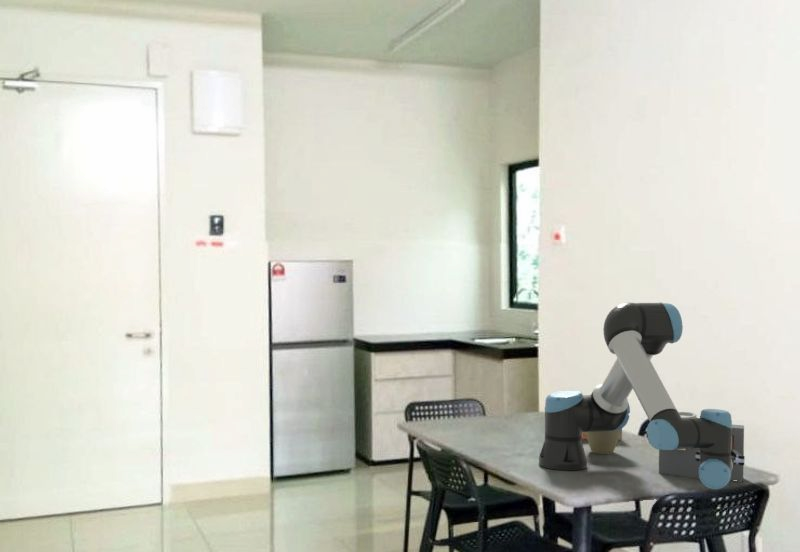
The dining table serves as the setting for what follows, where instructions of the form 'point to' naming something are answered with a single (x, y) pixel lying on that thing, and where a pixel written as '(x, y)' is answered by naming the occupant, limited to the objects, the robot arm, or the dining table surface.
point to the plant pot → (603, 441)
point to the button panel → (688, 466)
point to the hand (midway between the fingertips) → (723, 447)
